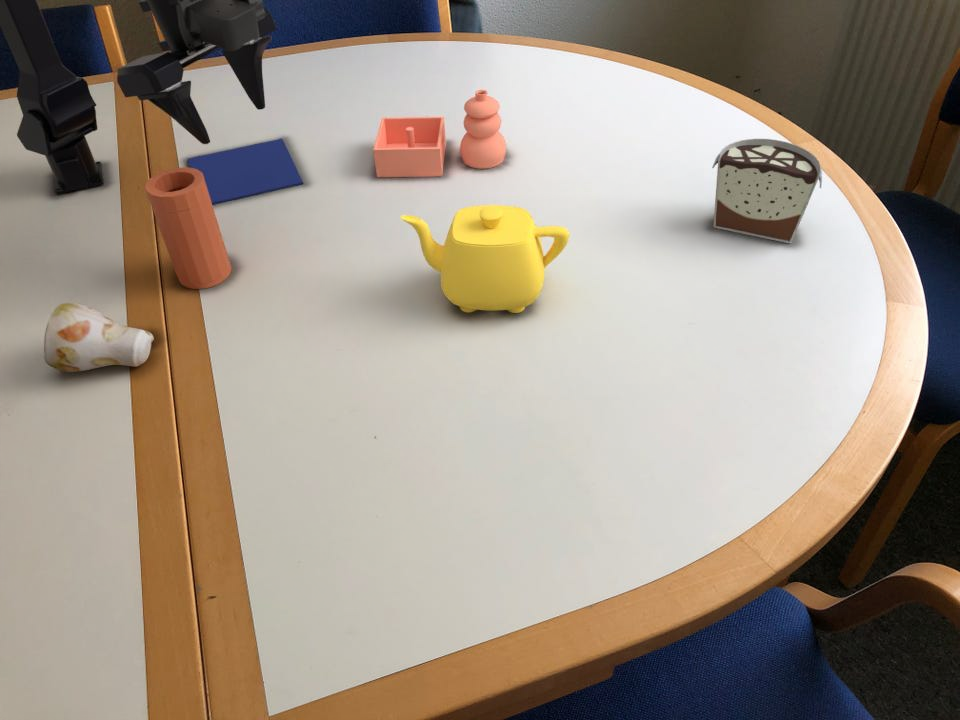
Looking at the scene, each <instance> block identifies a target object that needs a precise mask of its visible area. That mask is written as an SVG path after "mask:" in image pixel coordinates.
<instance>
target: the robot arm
mask: <svg viewBox="0 0 960 720" xmlns="http://www.w3.org/2000/svg"><path fill="white" fill-rule="evenodd" d="M138 5H139V6H140V9H141V11H142V12H143V13H147V12H151V13H152V16H153V18H154V20H155V22H156V25H157V27H158V28H159V30H160V32H161V34H162V37H163V38H164V39H162V40H160V41H158V42H157V43H158V46H159V48H160V49H161V52H160V53H153V54H149V55H143V56H141V57H138V58H137V59H134V60H132V61H131V62H128V63H126V64H123V66H120V67H118V68H117V73H116V74H117V75H116V80H117V85H118V86H119V89H120V91H121V92H122V94H123V95H124V98H131V97H137V99H138V101H141V102H142V101H149V102H150V103H151V104H153V105H154V106H156V107H158V108H159V109H160V110H161V111H163V113H165V114H167V115H168V116H169V117H171V118H172V119H173V120H174V121H175V122H176V123H178V124H179V125H180V126H181V127H182V128H183V129H184V130H186V132H188V134H190V135H192V137H194V138H195V139H196V140H197V141H198V142H199V143H200V144H202V145H208V144H210V143H211V139H210V136H209V133H208V130H207V128H206V126H205V124H204V121H203V119H202V118H201V115H200V114H199V111H198V110H197V108H196V105H195V103H194V101H193V99H192V96H191V91H192V90H191V89H192V80H185V81H183V76H184V71H185V70H184V69H185V68H187V67H188V66H191V65H193V64H194V63H196V62H198V61H200V60H202V59H203V58H205V57H207V56H210V55H212V54H213V53H215V52H218V51H219V50H221V53H222V54H223V56H224V58H225V60H226V61H227V64H228V65H229V66H230V68H231V70H232V72H233V73H234V75H235V77H236V78H237V80H238V82H239V83H240V85H241V87H242V88H243V91H244V92H245V93H246V95H247V97H248V98H249V100H250V101H251V103H252V104H253V105H254V107H255V108H256V110H260V111H261V110H264V109H266V99H265V87H264V77H263V76H264V75H263V55H264V53H265V50H266V48H267V46H268V44H269V43H271V42H272V40H273V39H272V38H273V37H272V35H269V34H270V33H273V32H274V31H276V30H278V27H277V25H276V23H275V20H274V18H273V15H272V13H271V12H270V10H268V9H267V8H265V5H264V1H263V0H140V1H139V2H138ZM0 28H1V30H2V33H3V35H4V37H5V40H6V42H7V45H8V47H9V49H10V52H11V53H12V56H13V58H14V60H15V62H16V65H17V67H18V70H19V77H18V85H17V90H16V99H17V101H18V104H19V107H20V110H21V114H22V118H21V121H20V124H19V126H18V130H17V132H16V137H17V139H18V140H19V141H20V143H21V144H22V146H23V147H24V149H25V150H27V151H29V152H33V153H35V154H39V155H42V156H44V157H45V159H46V161H47V163H48V165H49V168H50V169H51V172H52V174H53V192H54V194H55V195H60V194H65V193H71V192H74V191H79V190H83V189H84V190H85V189H89V188H94V187H98V186H102V185H104V183H105V179H104V169H103V164H102V161H100V160H99V161H96V159H95V157H94V156H93V155H94V154H93V152H92V150H91V148H90V145H89V143H88V140H87V138H86V136H87V135H89V134H91V133H92V132H96V131H98V121H97V111H96V107H97V103H96V102H95V100H94V98H93V96H92V94H91V92H90V88H89V85H88V82H87V81H86V79H85V78H83V77H81V76H77V75H75V74H74V73H73V72H72V71H71V70H69V68H67V67H66V66H65V65H64V64H63V63H62V60H61V58H60V56H59V53H58V51H57V49H56V46H55V43H54V41H53V38H52V36H51V32H50V30H49V28H48V26H47V23H46V20H45V18H44V15H43V12H42V10H41V8H40V5H39V3H38V0H0Z"/></svg>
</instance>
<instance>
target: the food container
mask: <svg viewBox="0 0 960 720" xmlns="http://www.w3.org/2000/svg"><path fill="white" fill-rule="evenodd" d="M715 166H717V169H716V170H717V171H716V183H715V185H716V187H715V196H714V197H715V198H714V213H713V224H712V225H713V226H712V228H714V229H719V230H723V231H728V232H733V233H736V234H737V233H738V234H744V235H748V236H751V237H758V238H762V239H765V240H772V241H776V242H781V243H786V244H792V243H793V240H794V237H795V236H796V233H797V231H798V228H799V226H800V224H801V221H802V219H803V217H804V214H805V211H806V209H807V207H808V205H809V202H810V200H811V197H812V195H813V193H814V191H815V188H816V185H817V184H818V181H819V189H822V184H823V170H822V165H821V161H820V160H819V159H818V158H817V157H816V156H815V155H814V154H813V153H812V152H811V151H809V150H807V149H806V148H804V147H802V146H799V145H797V144H794V143H791V142H788V141H784V140H779V139H771V138H747V139H741V140H736V141H735V142H732V143H729V144H728V145H725V146H724V147H723V148H722V149H721V150H720V151H719V153H718V155H716V157H715V159H714V162H713V165H712V167H711V168H712V169H714V168H715Z"/></svg>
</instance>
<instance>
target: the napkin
mask: <svg viewBox="0 0 960 720" xmlns="http://www.w3.org/2000/svg"><path fill="white" fill-rule="evenodd" d="M187 163H188V167H189V168H194V169H197V170H199V171H200V172H202V173H203V176H204V179H205V183H206V186H207V189H208V192H209V196H210V199H211V202H212V205H216V204H222V203H225V202H231V201H235V200H238V199H243V198H248V197H252V196H255V195H256V196H257V195H260V194H265V193H269V192H274V191H278V190H282V189H286V188H291V187H292V188H293V187H296V186H300V185H304V182H303V179H302V177H301V174H300V172H299V171H298V168H297V166H296V164H295V162H294V159H293V158H292V156H291V154H290V152H289V150H288V147H287V146H286V144H285V141H284V139H283V138H278V139H274V140H268V141H263V142H260V143H254V144H251V145H245V146H240V147H236V148H231V149H226V150H222V151H217V152H212V153H206V154H203V155H197V156H192V157H189V158H187Z"/></svg>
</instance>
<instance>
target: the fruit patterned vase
mask: <svg viewBox="0 0 960 720" xmlns="http://www.w3.org/2000/svg"><path fill="white" fill-rule="evenodd" d="M154 337H155V336H154V335H153V334H152V333H151V332H150V331H148V330H145V329H141V328H135V327H130V326H126V325H123V324H121V323H118V322H117V321H115V320H113V319H112V318H110V317H108V316H107V315H105V314H103V313H101V312H99V311H98V310H96V309H94V308H93V307H90V306H87V305H85V304H81V303H76V302H65V303H60V304H59V305H57V306H56V307H55V309H54V310H53V311H52V313H51V314H50V317H49V319H48V321H47V324H46V327H45V331H44V337H43V355H44V362H45V364H46V365H47V366H49V368H53V369H55V370H59V371H62V372H68V373H69V372H70V373H71V372H74V373H75V372H84V371H89V370H93V369H99V368H103V367H107V366H115V365H116V366H126V367H127V366H129V367H134V368H135V367H140V366H141V365H143V364H144V363H145V362H146V361H147V360H148V358H149V357H150V355H151V349H152V343H153V342H154V340H155V338H154Z"/></svg>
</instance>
